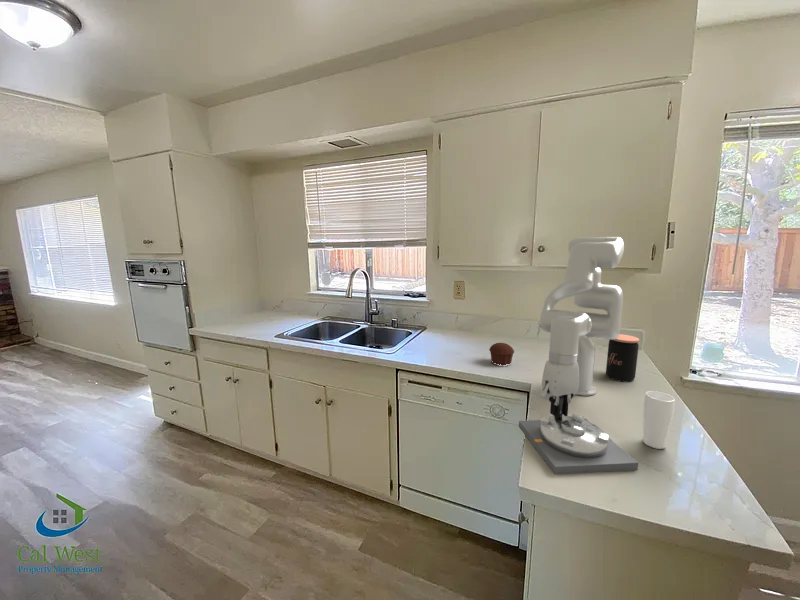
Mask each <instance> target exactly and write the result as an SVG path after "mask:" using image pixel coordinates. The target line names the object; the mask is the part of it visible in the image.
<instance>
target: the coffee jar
mask: <svg viewBox="0 0 800 600" xmlns="http://www.w3.org/2000/svg"><path fill="white" fill-rule="evenodd" d="M639 342H640V338H639V337H636V336H633V335H629V334H622V333H619V336H618V337H617V338H616V339H614V340H608V347H607V349H608V350H607V357H606V358H607V359H606V367H605V374H606V375H608V376H609V377H610V379H611V378H613V379H612V380H614V379H615V381H618V380H620V381H619V382H624V381H629V382H633V381H634V379H636V373H637V365H638V364H637V363H638V356H639V347H640V346H639ZM608 376H607V377H608ZM609 377H608V378H609Z"/></svg>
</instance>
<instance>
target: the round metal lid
mask: <svg viewBox="0 0 800 600" xmlns="http://www.w3.org/2000/svg"><path fill="white" fill-rule="evenodd" d="M563 402H564V397H563V396H559V404H558V405H560V415H559V418H557V417H555V416H554V415H550V416H542V417H541V419H540V420H541V422H540V423H541V429H540V434H541V437H542V438H543V440H544V441H545V442H546V443H547V444H549V445H550V446H551V447H553V448H555V449H557V450H559V451H561V452H564V453H566V454H570V455H573V456H578V457H598V456H601V455H603V454H604V453H605V452H606V451H607V444H608V438H610V436H609V435H610V434H607V433H606V432H605V431H604V430H603V429H602V428H601V427H599V426H598V425H596V424H594V423H592V422H591V421H589V420H588V421H589V422H588V421H585V420H584V418H585V416H584V415H580V414H575V413H572V416H569V415H567V416H564V415H563ZM590 422H591V423H590Z"/></svg>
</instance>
